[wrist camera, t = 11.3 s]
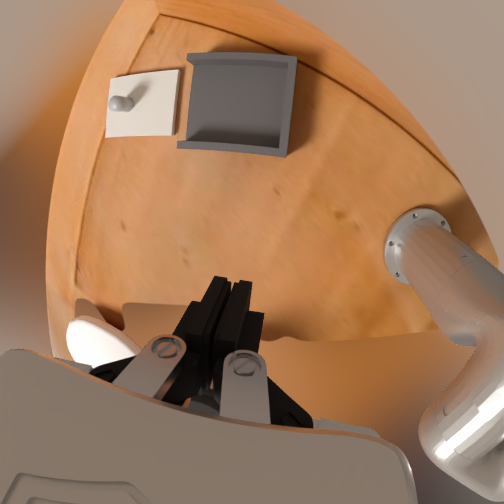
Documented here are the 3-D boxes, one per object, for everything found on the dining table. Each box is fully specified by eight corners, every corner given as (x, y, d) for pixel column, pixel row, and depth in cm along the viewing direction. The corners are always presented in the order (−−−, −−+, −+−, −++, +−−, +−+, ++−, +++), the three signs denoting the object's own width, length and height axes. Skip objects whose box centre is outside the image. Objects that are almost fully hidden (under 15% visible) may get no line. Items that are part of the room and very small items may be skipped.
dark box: (296, 65, 29) (297, 56, 26) (286, 156, 34) (286, 157, 31) (197, 61, 30) (187, 53, 27) (187, 147, 36) (177, 148, 32)
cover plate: (182, 71, 32) (168, 63, 27) (175, 135, 36) (160, 135, 31) (116, 79, 33) (97, 75, 28) (110, 137, 37) (91, 138, 32)
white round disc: (162, 418, 57) (81, 383, 59) (170, 399, 63) (90, 367, 64) (144, 357, 43) (45, 314, 45) (157, 332, 49) (60, 297, 50)
